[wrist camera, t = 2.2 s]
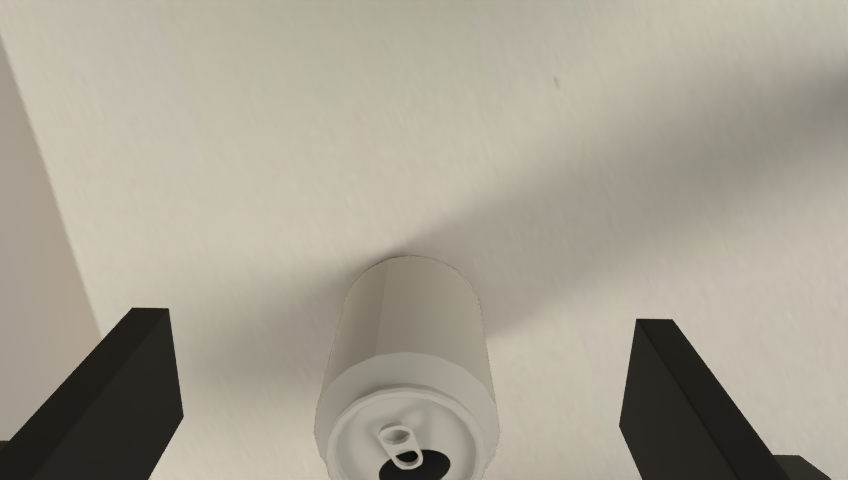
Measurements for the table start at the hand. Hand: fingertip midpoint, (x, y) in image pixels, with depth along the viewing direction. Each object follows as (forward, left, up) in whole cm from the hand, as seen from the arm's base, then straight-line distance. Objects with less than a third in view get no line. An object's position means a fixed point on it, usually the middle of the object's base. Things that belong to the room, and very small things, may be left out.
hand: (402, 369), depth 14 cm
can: (+9, 0, -20) cm, 22 cm away
